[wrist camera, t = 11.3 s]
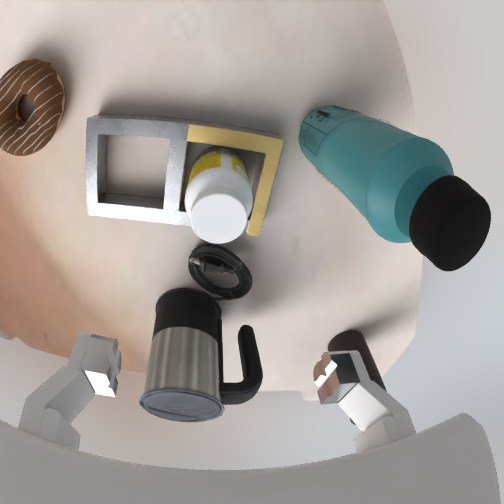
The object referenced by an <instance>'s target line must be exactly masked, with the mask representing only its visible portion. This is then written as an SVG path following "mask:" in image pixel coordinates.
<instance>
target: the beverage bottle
mask: <svg viewBox="0 0 504 504" xmlns="http://www.w3.org/2000/svg"><path fill="white" fill-rule="evenodd" d="M326 106H327V105H326ZM343 108H344V107H343ZM343 108H340V107H336V105H335V106H329V107H321V108H319V109H317V108H316V110H315V111H313V112H312V113H311V112H310V113H309V114H308V115H307V116H306V119H305V120H303V122H302V124H301V125H302V126H301V129H300V130H299V131H300V134H299V135H298V140H299V142H300V146H301V149H302V151H303V153H304V155H305V156H306V158H307V159H308V160H309V161H310V162H311V163H312V164H313V165H314V166H316V168H318V169H317V171H319V170H320V171H319V172H322V173H323V174H324V176H326V177H327V178H328V179H329V180H330V181H331V182H332V183H333V184H334V185H335V186H336V187H337V188H338V189H339V190H340V192H342V193H343V194H344V195H345V196H346V197H347V198H348V199H349V200H350V201H351V203H352V204H353V205H354V206H355V207H356V208H357V209H358V210H359V211H360V213H361V214H362V215H363V216H364V217H365V218H366V219H367V221H368V222H369V224H370V225H371V227H372V228H373V230H374V231H375V232H376V233H377V234H378V235H379V236H381V237H382V238H384V239H386V240H388V241H391V242H395V243H406V242H412V243H413V245H414V246H415V247H416V248H417V249H418V251H419V252H420V253H421V254H423V255H424V256H426V257H427V258H428V259H429V260H430V261H431V262H432V263H433V264H434V265H435V266H436V267H437V268H439V269H441V270H443V271H453V270H456V269H459V268H461V267H462V266H464V265H465V264H467V263H468V262H469V261H470V260H471V259H472V258H473V257H474V256H475V255H476V254H477V253H478V251H479V250H480V248H481V247H482V245H483V243H484V241H485V239H486V237H487V234H488V231H489V228H490V221H491V212H490V208H489V205H488V203H487V202H486V200H485V199H484V198H483V197H482V196H481V195H480V194H478V193H477V192H476V191H475V190H474V189H472V188H471V186H470V185H469V184H468V183H466V182H465V181H463V180H462V179H461V178H459V177H457V176H454V173H453V168H452V165H451V162H450V160H449V158H448V156H447V155H446V153H445V152H444V150H443V149H442V148H441V147H440V146H439V145H437V144H436V143H434V142H432V141H430V140H428V139H425V138H422V137H418V136H416V135H414V134H411V133H409V132H406V131H407V130H406V131H404V130H401V129H399V128H397V127H395V126H392V125H390V124H387V123H384V122H382V121H379V120H376V119H375V118H374V119H373V118H370V117H367V116H364V115H361V114H358V113H354V112H357V111H354V112H351V111H353V110H349V111H348V109H343ZM359 113H360V112H359ZM380 120H381V119H380ZM387 122H388V121H387ZM403 129H404V128H403ZM316 168H315V169H316ZM323 174H322V175H323ZM332 183H331V184H332ZM334 185H333V186H334Z"/></svg>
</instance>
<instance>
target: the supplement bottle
mask: <svg viewBox="0 0 504 504" xmlns="http://www.w3.org/2000/svg"><path fill="white" fill-rule="evenodd" d="M252 205H253V194H252V189H251V186H250V182H249V179H248V175H247V171H246V168H245V165H244V163H243V161H242V160H241V158H240V157H239V156H238V155H237V154H236V153H234V152H233V151H231V150H228V149H224V148H214V149H210V150H208V151H205V152H204V153H202V154H201V155H200V156H199V157H198V158H197V159H196V161H195V162H194V164H193V167H192V170H191V173H190V177H189V181H188V184H187V189H186V193H185V208H186V211H187V214H188V216H189V217H190V222H191V226H192V228H193V230H194V232H195V233H196V234H197V235H198V236H199V237H200V238H201V239H203V240H205V241H207V242H210V243H216V244H220V243H227V242H230V241H232V240H234V239H236V238H237V237H238V236H240V235H241V234H242V232H243V231H244V229H245V227H246V224H247V219H248V216H249V214H250V212H251V209H252Z"/></svg>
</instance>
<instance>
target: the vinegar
mask: <svg viewBox="0 0 504 504" xmlns="http://www.w3.org/2000/svg"><path fill="white" fill-rule="evenodd" d="M353 350H356V351H358V352H359V353H360V355H361V358H362V360H363V363H364V365H365V368H366V370H367V373H368V375H369V378H370V380H371V381H374V382H375V383H377V384H378V385H379V386H380V387H381V388H382V389H384V390H385V391H386V388H385V386H384V383H383V381H382V379H381V376H380V374H379V371H378V369H377V366H376V364H375V362H374V359H373V357H372V355H371V352H370V350H369V348H368V346H367V343H366V341H365V339H364V337H363V335H362V334H361V333H360V332H358V331H347V332H344V333H341V334H339V335H338V336H336V337H335V338H334V339H332V340H331V342H330V343H329V345H328V351H329V352H334V351H353ZM386 392H387V391H386ZM350 420H351V422H352V423H353V424H355V423H354V422H353V421H352V419H351V418H350ZM355 425H356V424H355Z"/></svg>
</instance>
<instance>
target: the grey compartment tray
mask: <svg viewBox="0 0 504 504" xmlns="http://www.w3.org/2000/svg"><path fill="white" fill-rule="evenodd" d="M107 134H108V135H130V136H146V137H158V138H169V139H170V146H169V154H168V163H167V172H166V183H165V195H164V199H163V198H154V197H145V196H135V195H124V194H113V193H106V149H107ZM189 141H190V142H198V143H206V144H213V145H220V146H227V147H233V148H239V149H245V150H251V151H256V152H261V153H260V157H259V161H258V166H257V170H256V174H255V178H254V183H253V187H252V194H253V205H252V209H251V212H250V214H249V216H248V219H247V224H246V227H245V229H244V231H243V232H242V233H247V235H251V236H259V234H260V231H261V227H262V223H263V219H264V215H265V212H266V208H267V204H268V200H269V196H270V193H271V189H272V185H273V181H274V177H275V174H276V170H277V166H278V162H279V158H280V155H281V151H282V147H283V143H284V140H283V139H282V138H281V137H280V136H279V135H278V134H273V133H269V132H264V131H259V130H253V129H248V128H242V127H237V126H231V125H224V124H218V123H211V122H203V121H195V120H187V119H177V118H166V117H153V116H137V115H95V116H92V117H90V118H87V130H86V191H87V208H88V215H93V216H103V217H112V218H122V219H131V220H140V221H149V222H158V223H166V224H175V225H183V226H191V222H190V217H189V216H188V214H187V211H186V208H185V201H182V192H183V183H184V175H185V167H186V160H187V153H188V146H189Z"/></svg>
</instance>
